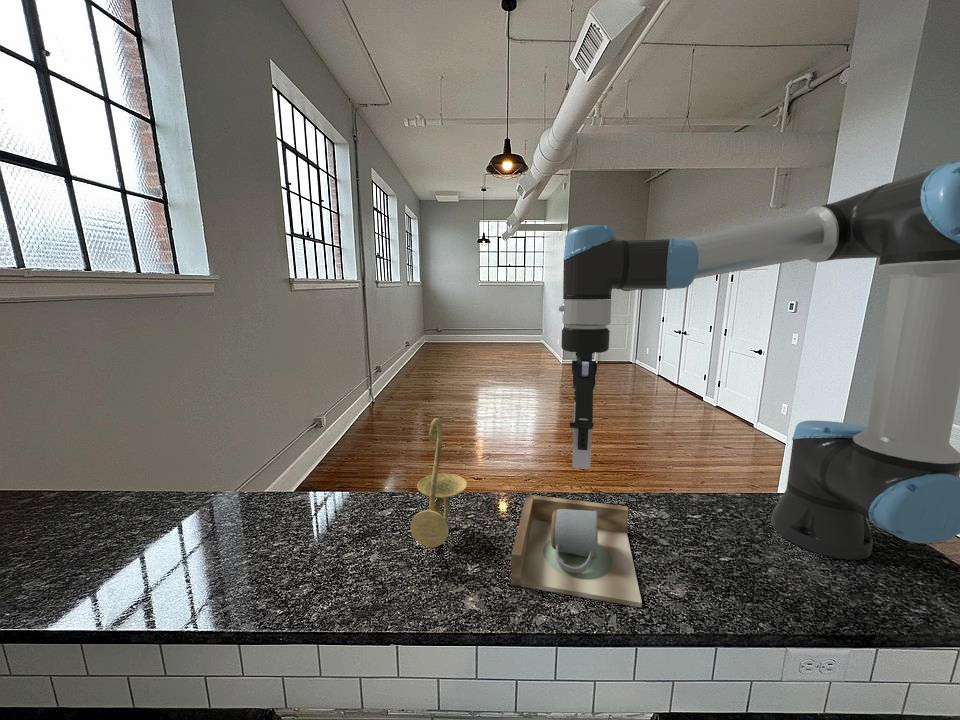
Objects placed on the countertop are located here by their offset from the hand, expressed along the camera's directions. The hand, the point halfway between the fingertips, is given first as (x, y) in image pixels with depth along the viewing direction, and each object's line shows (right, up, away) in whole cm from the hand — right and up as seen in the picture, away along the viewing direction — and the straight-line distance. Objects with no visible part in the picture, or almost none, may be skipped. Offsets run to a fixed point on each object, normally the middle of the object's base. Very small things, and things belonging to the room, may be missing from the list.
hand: (580, 451), depth 67 cm
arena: (0, -20, +4) cm, 20 cm away
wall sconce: (-25, -19, +8) cm, 33 cm away
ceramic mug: (0, -20, +3) cm, 20 cm away
